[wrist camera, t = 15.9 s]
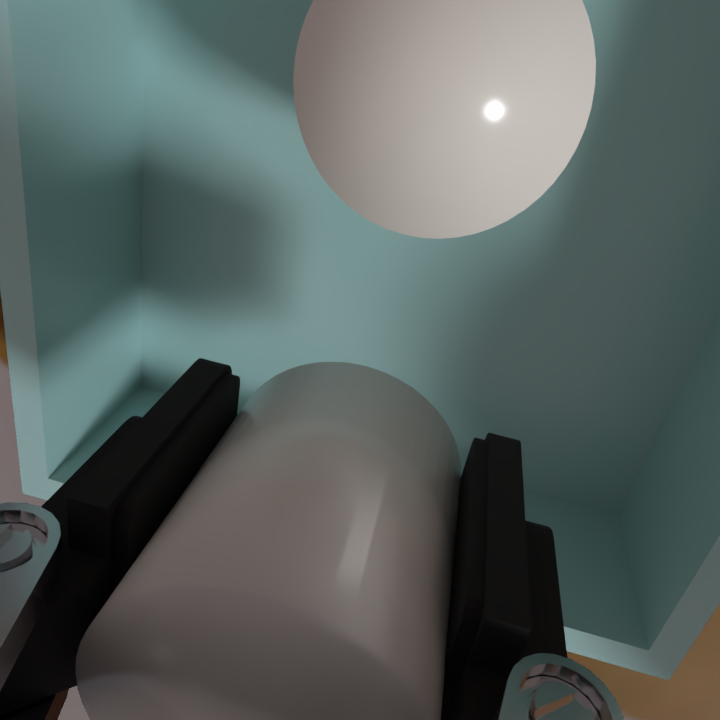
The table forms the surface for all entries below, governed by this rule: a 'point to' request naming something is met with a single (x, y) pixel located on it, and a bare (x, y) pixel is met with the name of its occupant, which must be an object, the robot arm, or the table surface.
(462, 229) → the white tapered rounded piece
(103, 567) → the robot arm
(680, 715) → the table surface
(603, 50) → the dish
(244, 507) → the white rounded cylinder
